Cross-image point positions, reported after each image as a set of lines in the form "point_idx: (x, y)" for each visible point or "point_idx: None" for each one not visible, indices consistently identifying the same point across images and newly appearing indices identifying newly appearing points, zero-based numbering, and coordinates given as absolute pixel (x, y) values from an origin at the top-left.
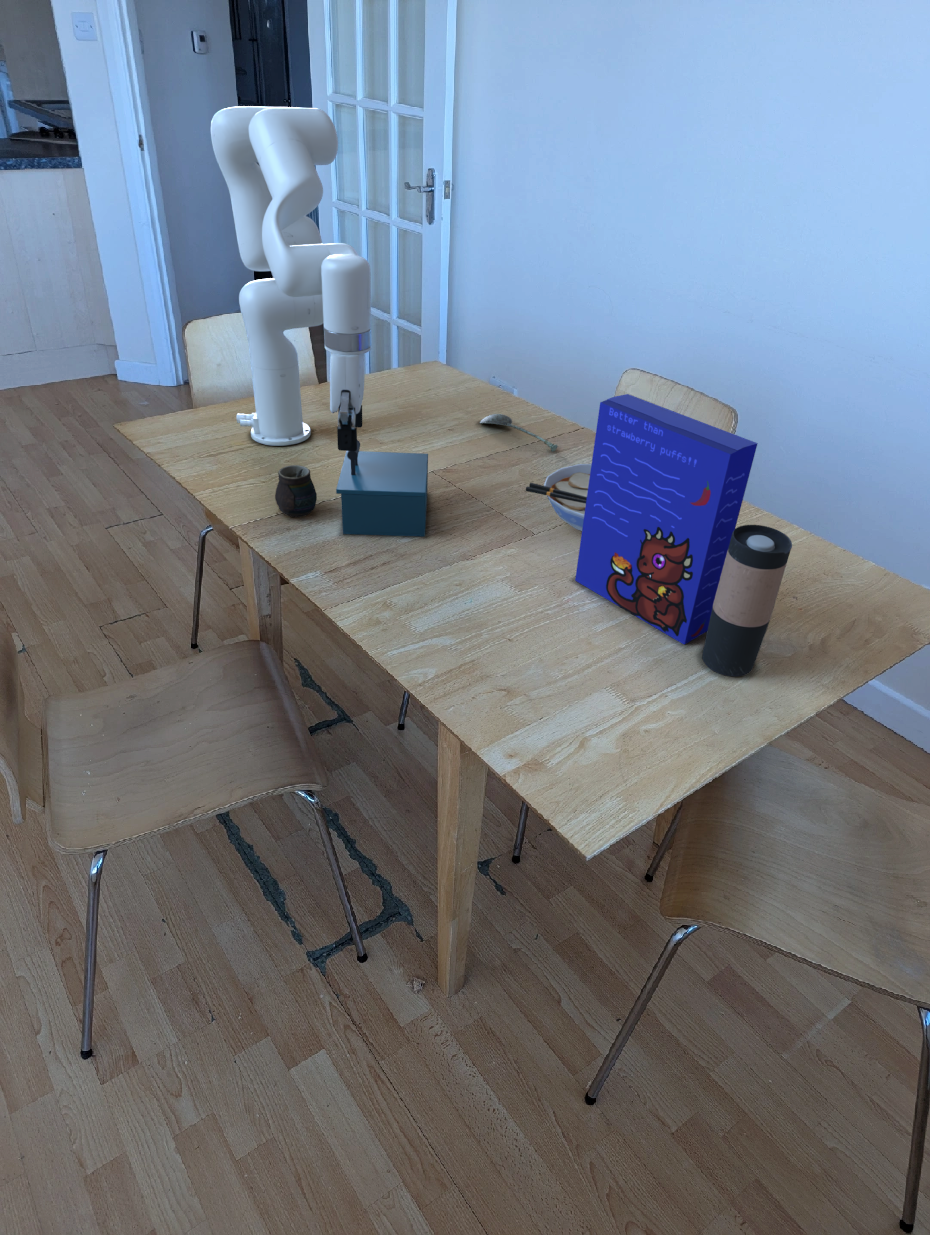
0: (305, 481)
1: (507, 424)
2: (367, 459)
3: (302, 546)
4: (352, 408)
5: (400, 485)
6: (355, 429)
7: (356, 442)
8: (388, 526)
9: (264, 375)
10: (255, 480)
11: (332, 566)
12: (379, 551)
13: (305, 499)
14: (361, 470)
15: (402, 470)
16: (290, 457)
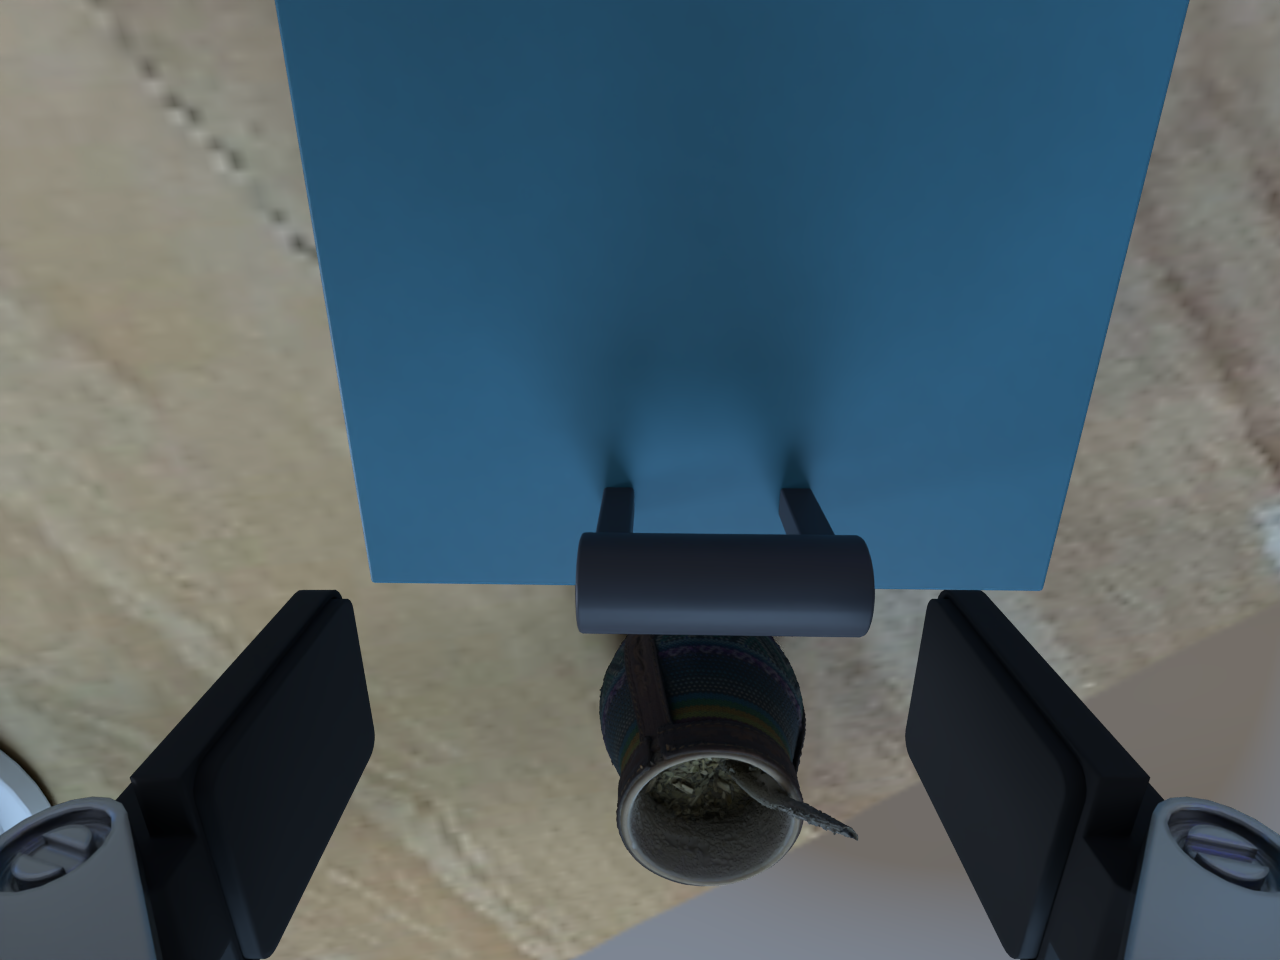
0: (769, 740)
1: None
2: (505, 420)
3: (1019, 600)
4: (249, 859)
5: (1040, 82)
6: (1138, 781)
7: (1022, 642)
8: None
9: None
10: (415, 833)
11: (1232, 459)
12: (1133, 239)
13: (785, 677)
14: (719, 449)
15: (704, 82)
16: (145, 745)
